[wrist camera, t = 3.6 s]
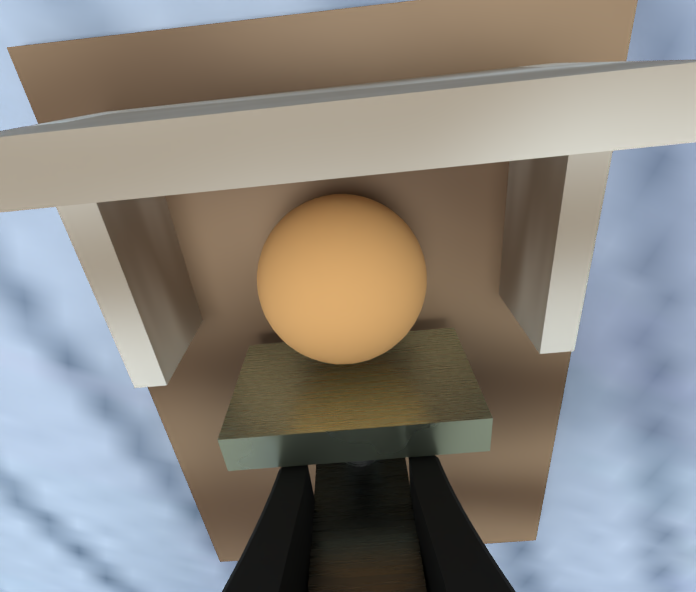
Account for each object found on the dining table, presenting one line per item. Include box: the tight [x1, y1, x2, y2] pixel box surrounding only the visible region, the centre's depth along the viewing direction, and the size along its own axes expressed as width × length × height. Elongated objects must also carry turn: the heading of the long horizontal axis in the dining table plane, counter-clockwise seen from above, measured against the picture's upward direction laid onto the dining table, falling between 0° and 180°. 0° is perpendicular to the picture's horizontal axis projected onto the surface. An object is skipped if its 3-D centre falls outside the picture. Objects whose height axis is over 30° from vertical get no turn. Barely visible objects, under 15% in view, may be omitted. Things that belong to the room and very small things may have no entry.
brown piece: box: [0, 0, 696, 562], centre depth 12 cm, size 20×14×6 cm
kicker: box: [218, 328, 493, 592], centre depth 10 cm, size 5×6×8 cm
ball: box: [257, 194, 427, 364], centre depth 10 cm, size 4×4×4 cm
